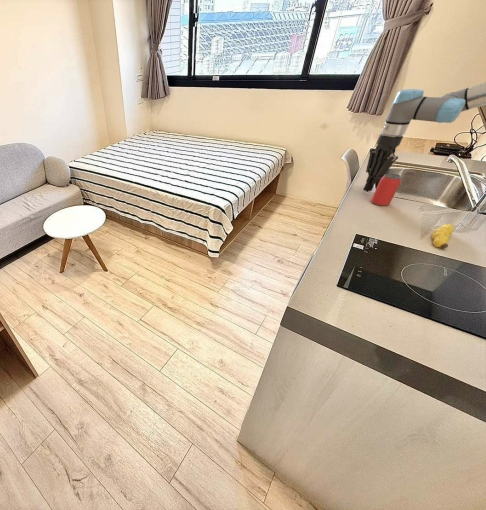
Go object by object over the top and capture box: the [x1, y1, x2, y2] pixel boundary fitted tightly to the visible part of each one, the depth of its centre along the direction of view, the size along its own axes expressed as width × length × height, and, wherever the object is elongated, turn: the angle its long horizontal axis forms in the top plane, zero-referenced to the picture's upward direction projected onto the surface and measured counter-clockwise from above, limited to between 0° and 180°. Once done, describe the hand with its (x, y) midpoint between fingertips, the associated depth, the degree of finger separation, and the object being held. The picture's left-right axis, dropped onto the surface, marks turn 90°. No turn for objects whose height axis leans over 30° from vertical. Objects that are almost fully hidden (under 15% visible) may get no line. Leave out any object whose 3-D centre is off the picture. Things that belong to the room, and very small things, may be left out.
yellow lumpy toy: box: [431, 223, 455, 249], centre depth 94 cm, size 15×5×4 cm, turn 131°
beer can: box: [370, 172, 402, 207], centre depth 114 cm, size 7×7×12 cm
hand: (367, 190), depth 124 cm, fingers closed
